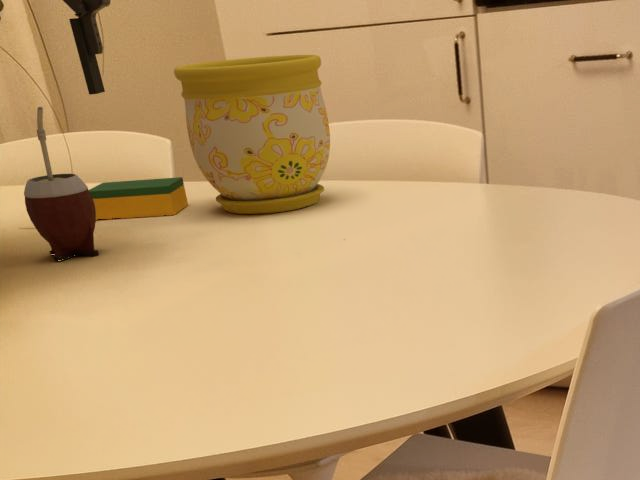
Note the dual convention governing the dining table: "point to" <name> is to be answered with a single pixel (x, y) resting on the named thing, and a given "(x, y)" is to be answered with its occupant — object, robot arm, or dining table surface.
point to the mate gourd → (61, 208)
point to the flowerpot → (258, 130)
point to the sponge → (139, 198)
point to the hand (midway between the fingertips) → (33, 99)
